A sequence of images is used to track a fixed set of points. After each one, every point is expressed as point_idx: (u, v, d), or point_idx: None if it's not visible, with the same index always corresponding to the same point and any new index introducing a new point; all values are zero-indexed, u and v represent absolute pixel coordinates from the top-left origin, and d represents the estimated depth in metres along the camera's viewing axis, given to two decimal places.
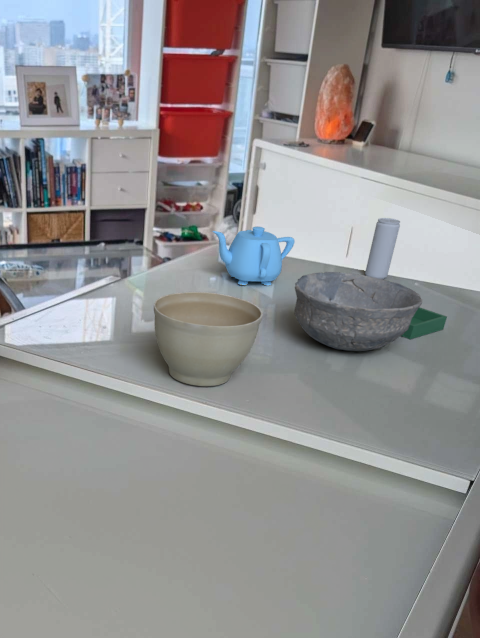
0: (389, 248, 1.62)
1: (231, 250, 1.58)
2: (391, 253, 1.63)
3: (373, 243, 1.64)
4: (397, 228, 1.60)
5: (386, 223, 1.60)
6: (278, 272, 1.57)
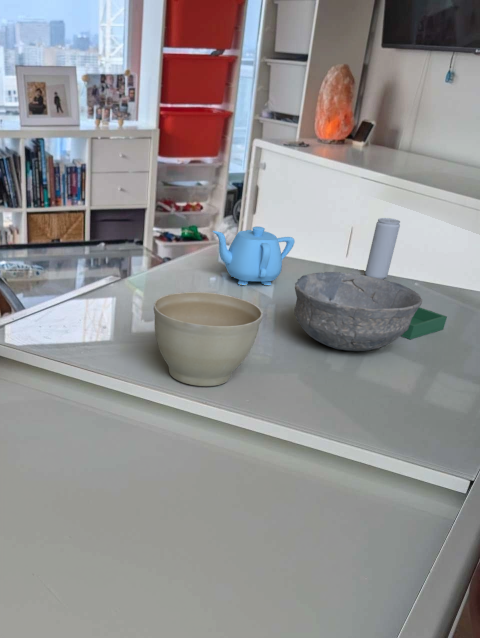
0: (389, 248, 1.62)
1: (231, 250, 1.58)
2: (391, 253, 1.63)
3: (373, 243, 1.64)
4: (397, 228, 1.60)
5: (386, 223, 1.60)
6: (278, 272, 1.57)
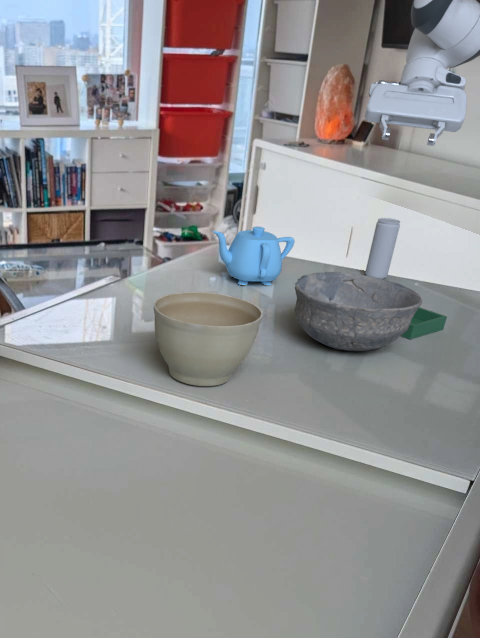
0: (389, 248, 1.62)
1: (231, 250, 1.58)
2: (391, 253, 1.63)
3: (373, 243, 1.64)
4: (397, 228, 1.60)
5: (386, 223, 1.60)
6: (278, 272, 1.57)
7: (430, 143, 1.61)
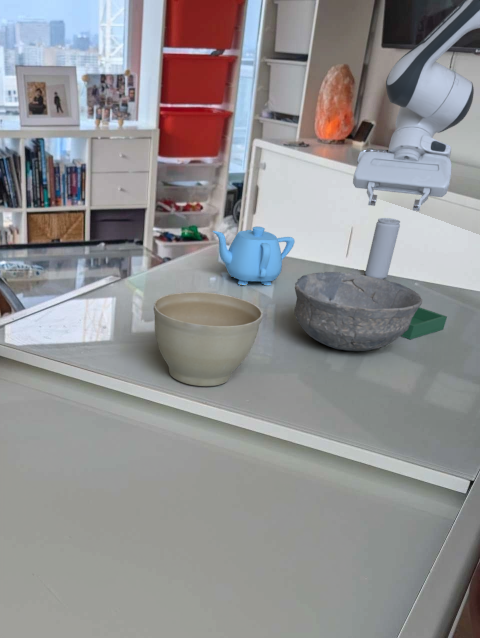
0: (389, 248, 1.62)
1: (231, 250, 1.58)
2: (391, 253, 1.63)
3: (373, 243, 1.64)
4: (397, 228, 1.60)
5: (386, 223, 1.60)
6: (278, 272, 1.57)
7: (415, 209, 1.66)
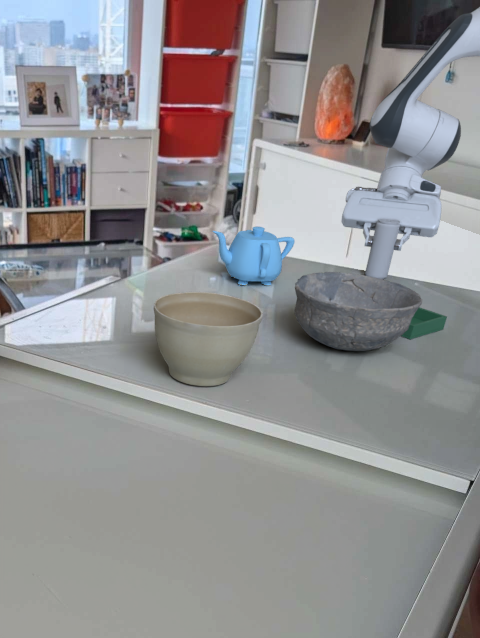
0: (389, 248, 1.62)
1: (231, 250, 1.58)
2: (391, 253, 1.63)
3: (373, 243, 1.64)
4: (397, 228, 1.60)
5: (386, 223, 1.60)
6: (278, 272, 1.57)
7: (396, 248, 1.63)
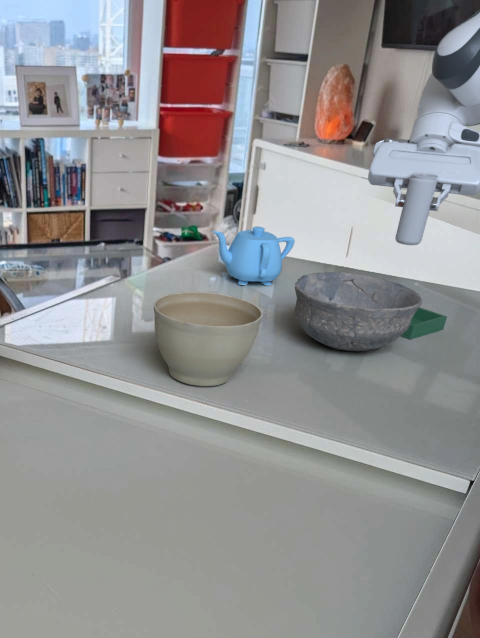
0: (424, 208, 1.40)
1: (231, 250, 1.58)
2: (426, 214, 1.41)
3: (405, 202, 1.41)
4: (434, 184, 1.38)
5: (421, 178, 1.37)
6: (278, 272, 1.57)
7: (433, 208, 1.40)
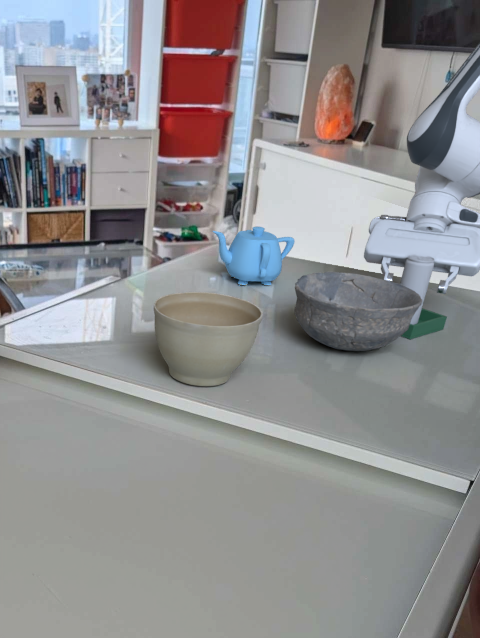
0: (421, 291, 1.36)
1: (231, 250, 1.58)
2: (423, 296, 1.37)
3: (401, 284, 1.37)
4: (431, 267, 1.34)
5: (418, 261, 1.33)
6: (278, 272, 1.57)
7: (440, 291, 1.36)
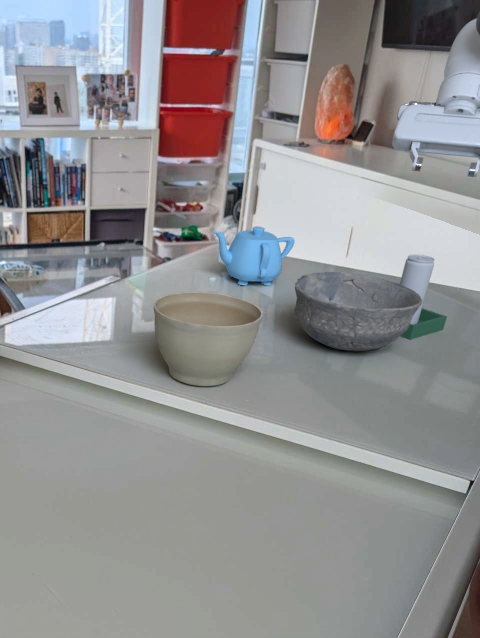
0: (421, 291, 1.36)
1: (231, 250, 1.58)
2: (423, 296, 1.37)
3: (401, 284, 1.37)
4: (431, 267, 1.34)
5: (418, 262, 1.33)
6: (278, 272, 1.57)
7: (471, 174, 1.34)
